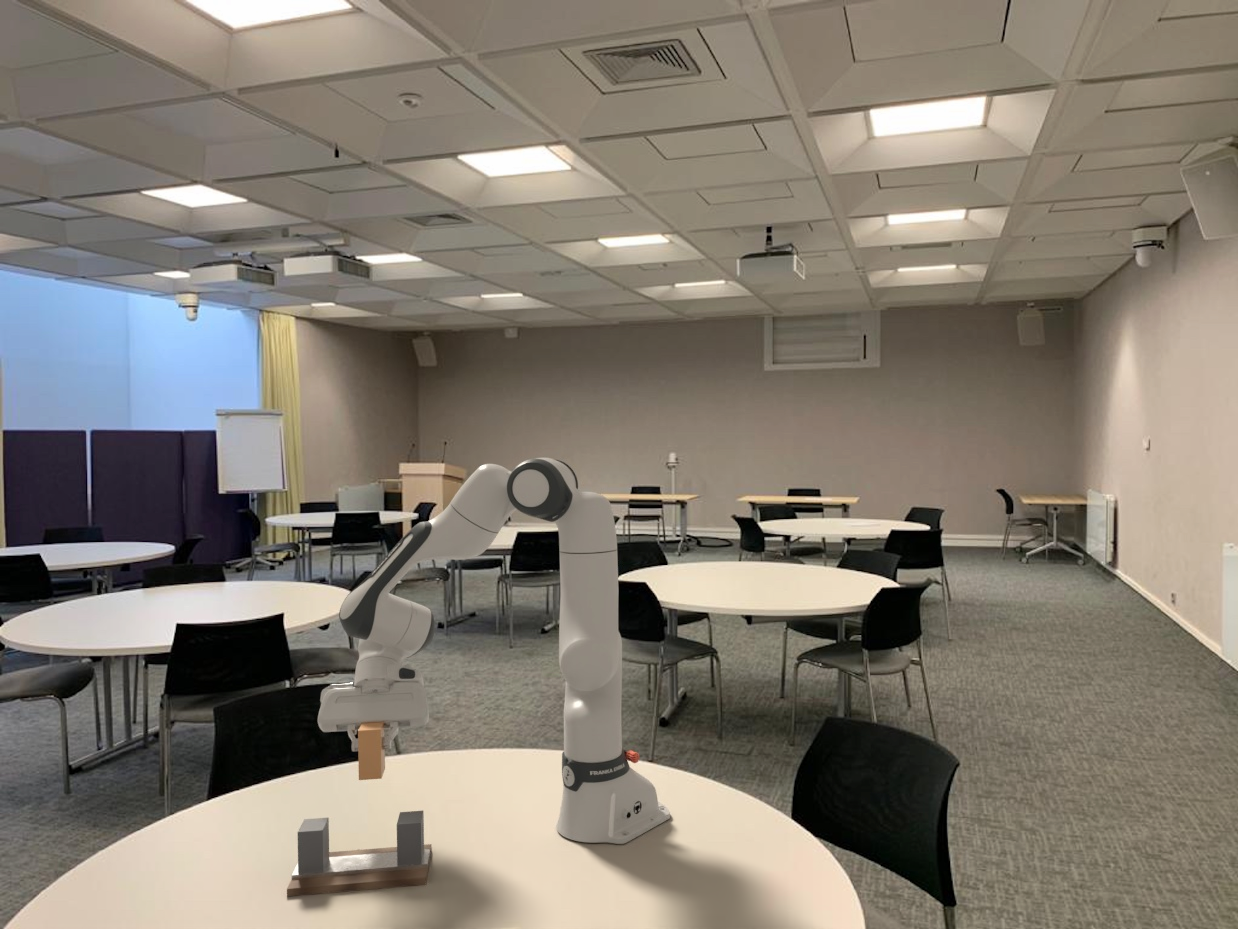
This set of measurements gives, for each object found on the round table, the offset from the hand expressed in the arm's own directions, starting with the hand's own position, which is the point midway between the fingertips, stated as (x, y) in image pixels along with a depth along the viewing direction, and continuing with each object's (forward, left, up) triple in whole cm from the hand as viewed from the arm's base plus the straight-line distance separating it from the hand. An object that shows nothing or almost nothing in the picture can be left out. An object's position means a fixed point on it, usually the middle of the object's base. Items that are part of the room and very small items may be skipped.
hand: (371, 749), depth 154 cm
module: (0, -1, -5) cm, 5 cm away
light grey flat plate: (+6, +10, -16) cm, 20 cm away
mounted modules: (+6, +10, -15) cm, 19 cm away
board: (+6, +10, -17) cm, 21 cm away
